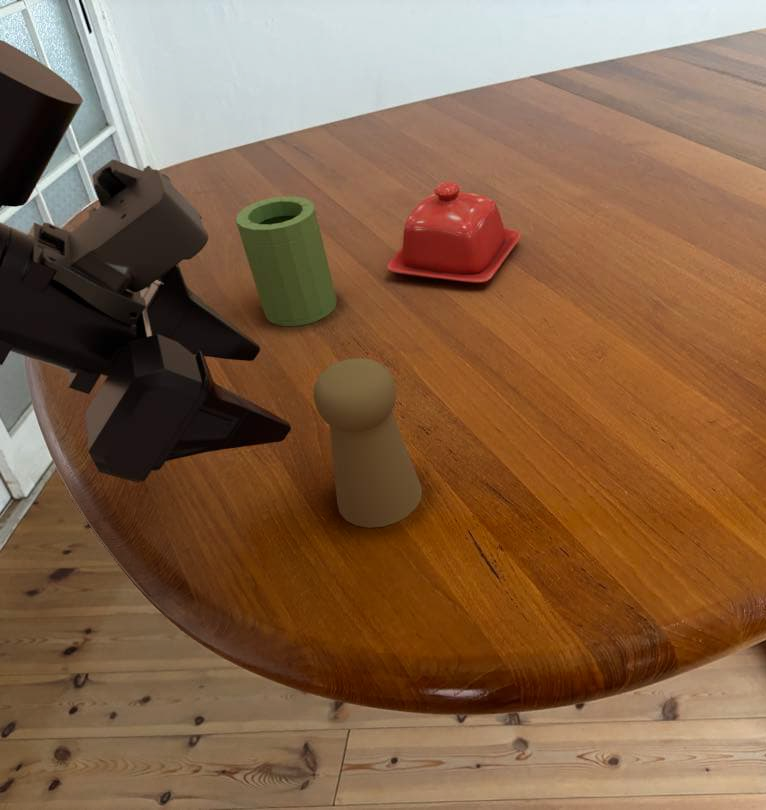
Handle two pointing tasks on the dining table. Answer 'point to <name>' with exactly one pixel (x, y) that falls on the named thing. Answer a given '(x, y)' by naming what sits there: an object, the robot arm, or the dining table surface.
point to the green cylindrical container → (287, 260)
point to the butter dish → (454, 237)
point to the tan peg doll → (366, 444)
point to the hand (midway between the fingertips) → (270, 390)
